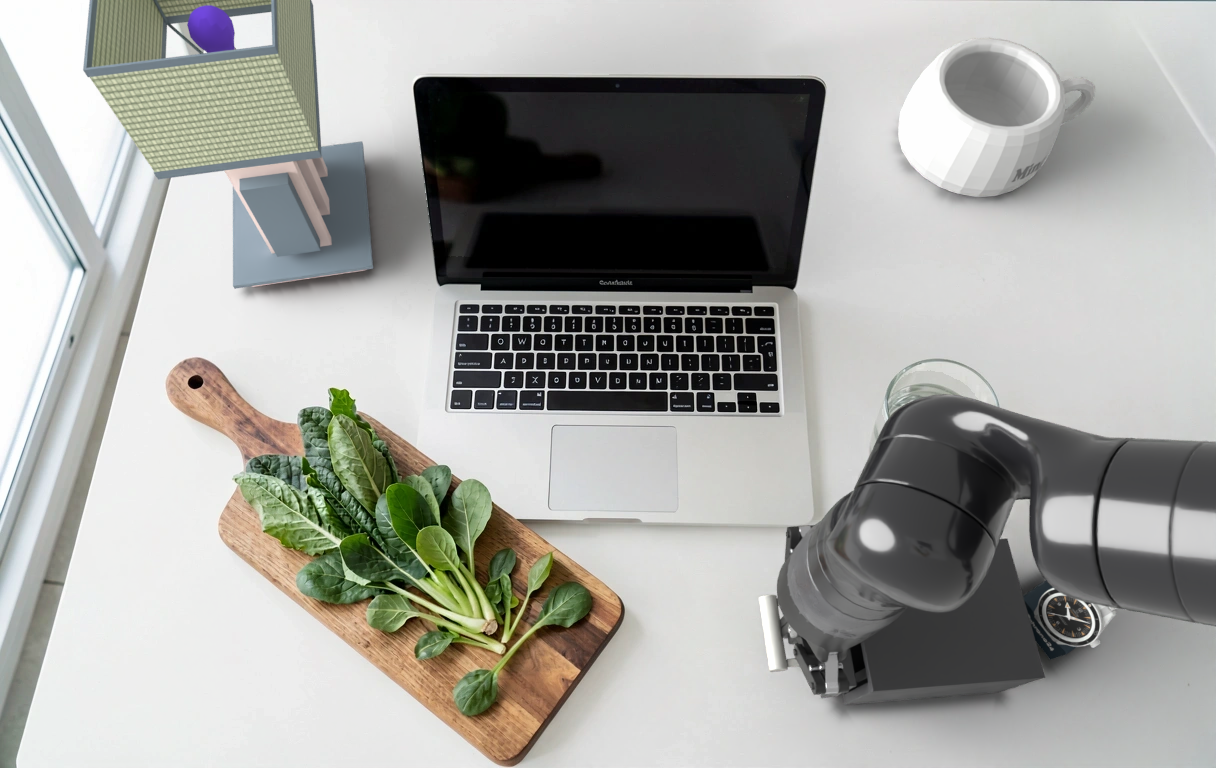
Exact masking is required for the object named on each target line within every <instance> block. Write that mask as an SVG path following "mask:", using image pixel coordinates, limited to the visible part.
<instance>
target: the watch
mask: <svg viewBox="0 0 1216 768" xmlns="http://www.w3.org/2000/svg"><path fill="white" fill-rule="evenodd" d="M1023 597H1024V601H1025V605H1026V608H1027V612H1028V615H1029V619H1030V623H1031V626H1032V630H1033V634H1034V637H1035V641H1036V645H1037V646H1039V648H1040V649H1041V650H1042V651H1043V653H1044V654H1045V656H1046V657H1047V658H1048V660H1050V661H1051V660H1054V659H1057V658H1060V657H1063V656H1066V655H1068V654H1069V653H1071V652H1072V651H1074V650H1075V649H1077V648H1079V647H1080V648H1081V647H1087V646H1090V647H1091V648H1092V649H1094V648H1095V647H1098V646H1099V645H1101V643H1102V642H1101V640H1100V639H1099V637H1100V635H1101V634H1102V633H1103V631H1104V630H1105V628H1106V627H1107V626H1108V624H1109V623H1110V622H1111V621H1112V619H1113V618H1115V616H1116V615H1117V611H1116V608H1113V607H1108V606H1102V605H1097V604H1093V603H1088V602H1084V601H1081V600H1077V599H1074V598H1071V597H1068V596H1066V595H1064V594H1062V593H1060V592H1059V591H1057V590H1055V589H1054V588H1053V587H1052V586H1051V585H1050V584H1048V583H1047V581H1046V580H1045V579H1044V581H1042V582H1041V583H1039V584H1038V585H1036V586H1035V587H1033V588H1032V589H1030V590H1029V591H1027V592H1025V593H1024V594H1023Z"/></svg>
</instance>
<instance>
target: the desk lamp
mask: <svg viewBox="0 0 1216 768" xmlns="http://www.w3.org/2000/svg"><path fill="white" fill-rule="evenodd" d="M314 11H315V10H314V4H313V1H312V0H89V4H88V15H87V16H88V17H87V25H86V36H85V46H84V47H85V48H84V58H83V68H82V71H83V73H84V74H85V75H86V77H87V78H89V79H90V80H91V82H92V83H93V85H94V86H95V87H96V89H97V90H98V92H99V93H100V95H101V97H102V98H103V99H104V101H105V102H106V104H107V105H108V106H109V108H110V109H111V111H112V112H113V114H114V116H116V118H117V120H118V121H119V122H120V124H121V125H122V127H123V128H124V130H125V132H126V133H127V134H128V136H129V137H130V139H131V141H133V143H134V144H135V146H136V147H137V149H138V150H139V152H140V153H141V155H142V156H143V158H144V159H145V161H146V162H147V163H148V165H149V166H150V167H151V169H152V171H153V174H154V175H155V177H156V178H157V180H165V179H173V178H179V177H187V176H195V175H202V174H209V173H218V172H224V173H225V175H226V177H227V178H228V180H229V181H230V183H231V185H232V287H233V288H234V290H235V289H241V288H249V287H251V288H255V287H262V286H266V285H267V286H268V285H269V286H270V285H275V284H283V283H288V282H289V283H290V282H295V281H302V280H309V279H317V278H324V277H330V276H337V275H338V276H339V275H343V274H351V273H357V272H365V271H368V270H373V269H374V261H373V249H372V248H373V247H372V236H371V235H372V234H371V224H370V212H369V211H370V210H369V199H368V188H367V176H366V175H367V174H366V164H365V151H364V149H365V148H364V143H363V141H362V140H361V141H352V142H346V143H339V144H332V145H324V146H322V138H321V137H322V136H321V121H320V120H321V118H320V103H319V101H320V100H319V86H318V84H319V83H318V65H317V49H316V30H315V13H314ZM266 13H271V40H272V41H271V44H269V45H261V46H252V47H245V48H236V46H235V34H236V33H235V27H234V23H233V19H231V18H232V17H240V16H241V17H242V16H249V15H257V14H266ZM183 23H186V25H187V26H186V27H187V29H188V33H189V37H190V38H191V40H192V41H193V42H194V43H195V44H196V45H197V46H196V45H195V44H194V43H193V42H192V41H190V40H189V39H188V38H187V37H186V36H185V35H184V34H183V33H181V32H180V31H179V30H178V29H177V28H176V27H174V26H173V24H174V25H175V24H183ZM168 27H169V29H171V30H172V31H173V32H174V33H175V34H177V35H178V36H179V37H180V38H181V39H182V40H183V41H185V42H186V43H187V44H188V45H189V46H190V47H191V48H193V49H194V50H195V51H196V52H197V53H195V54H188V55H187V54H186V55H180V56H171V57H167V37H168ZM202 50H203V51H204V52H203V51H202Z"/></svg>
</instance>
